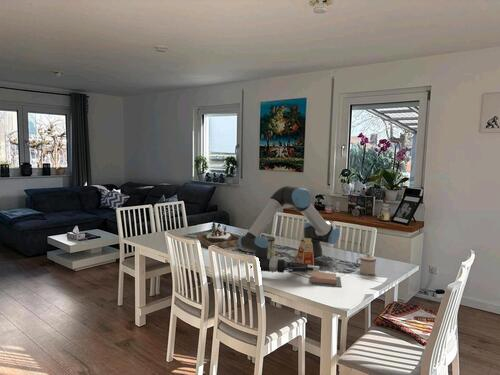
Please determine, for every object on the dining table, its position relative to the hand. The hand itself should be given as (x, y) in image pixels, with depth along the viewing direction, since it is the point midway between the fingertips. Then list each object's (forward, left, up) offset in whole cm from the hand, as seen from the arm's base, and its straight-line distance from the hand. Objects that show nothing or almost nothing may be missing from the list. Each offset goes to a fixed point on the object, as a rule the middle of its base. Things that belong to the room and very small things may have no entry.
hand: (319, 269), depth 211 cm
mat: (-3, +2, -7) cm, 8 cm away
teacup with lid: (-36, +1, -7) cm, 37 cm away
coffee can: (+3, -49, -7) cm, 50 cm away
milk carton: (-7, -21, -7) cm, 23 cm away
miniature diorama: (+14, -101, -7) cm, 102 cm away
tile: (+3, -3, -5) cm, 7 cm away
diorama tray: (+13, -100, -7) cm, 101 cm away
